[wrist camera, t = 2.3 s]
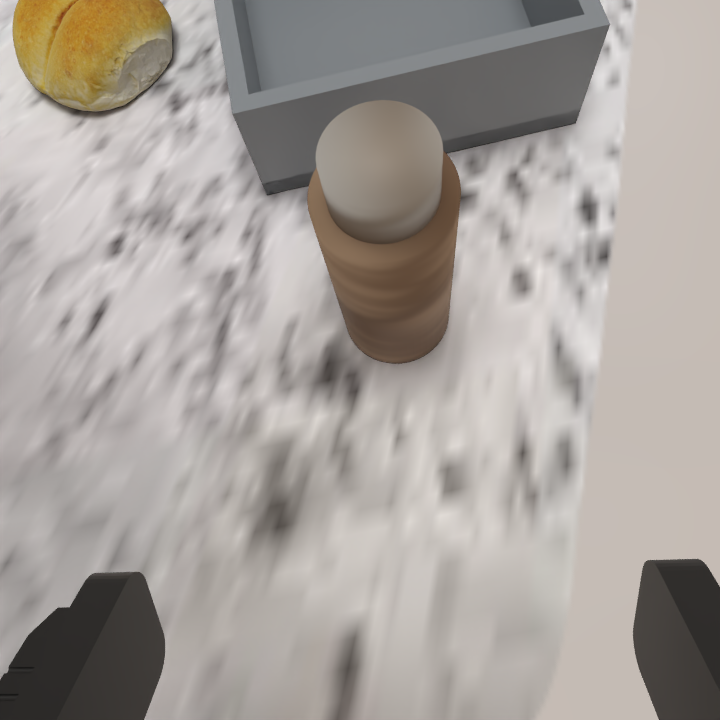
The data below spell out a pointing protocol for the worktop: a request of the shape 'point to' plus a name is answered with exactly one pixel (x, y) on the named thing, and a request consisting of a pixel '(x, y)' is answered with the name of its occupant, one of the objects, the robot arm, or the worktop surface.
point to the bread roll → (92, 49)
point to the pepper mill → (387, 226)
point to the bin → (402, 69)
